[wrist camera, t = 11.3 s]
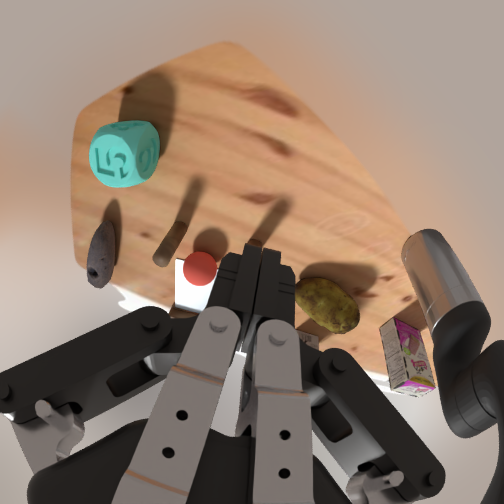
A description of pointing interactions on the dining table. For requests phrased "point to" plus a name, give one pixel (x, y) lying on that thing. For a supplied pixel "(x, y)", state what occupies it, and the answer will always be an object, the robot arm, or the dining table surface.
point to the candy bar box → (406, 359)
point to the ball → (199, 268)
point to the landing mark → (190, 291)
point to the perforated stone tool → (101, 255)
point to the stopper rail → (180, 314)
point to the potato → (327, 304)
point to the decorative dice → (124, 153)
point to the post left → (169, 244)
